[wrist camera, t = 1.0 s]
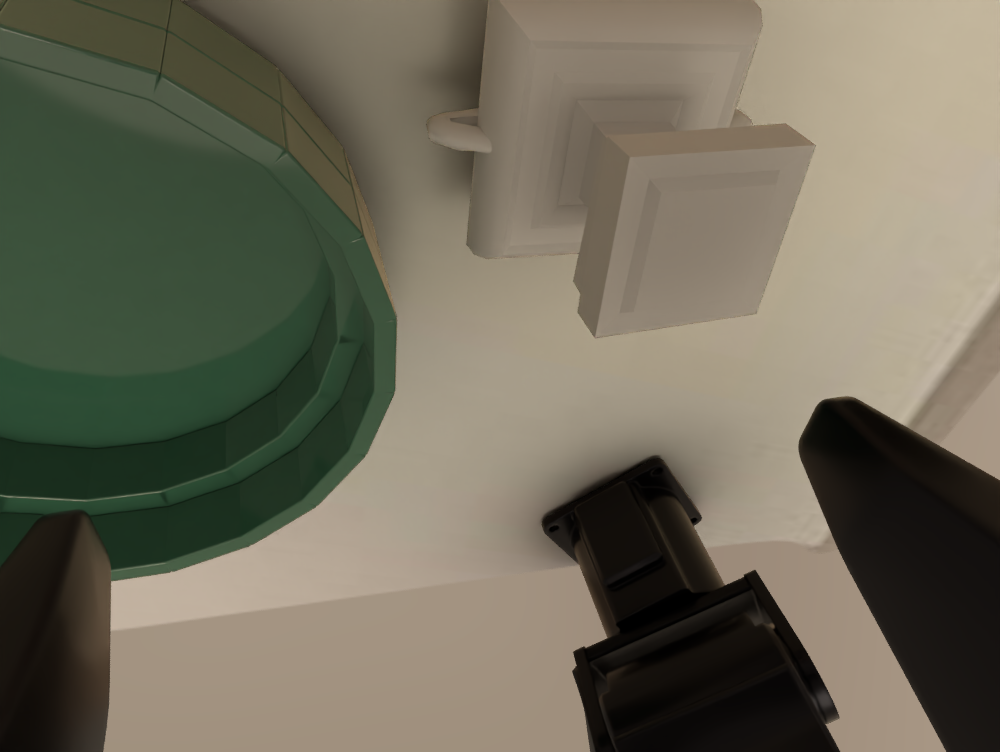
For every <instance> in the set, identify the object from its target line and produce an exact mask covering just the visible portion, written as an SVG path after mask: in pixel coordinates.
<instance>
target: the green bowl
mask: <svg viewBox="0 0 1000 752" xmlns="http://www.w3.org/2000/svg"><path fill="white" fill-rule="evenodd" d="M396 344H397V316H396V312H395V308H394V304H393V300H392V296H391V292H390V288H389V284H388V280H387V276H386V273H385V269H384V265H383V261H382V257H381V253H380V249H379V245H378V241H377V237H376V233H375V229H374V226H373V223H372V220H371V217H370V215H369V212H368V210H367V207H366V204H365V202H364V199H363V197H362V194H361V191H360V189H359V186H358V183H357V181H356V178H355V176H354V173H353V170H352V168H351V165H350V163H349V160H348V157H347V155H346V152H345V150H344V149H343V148H342V145H341V144H340V143H339V141H338V140H337V139H336V138H335V137H334V135H333V134H332V133H331V132H330V131H329V129H328V128H327V127H326V126H325V124H324V123H323V122H322V121H321V120H320V118H319V117H318V116H317V115H316V114H315V112H314V111H313V110H312V109H311V107H310V106H309V105H308V104H307V103H306V101H305V100H304V99H303V98H302V97H301V95H300V94H299V93H298V92H297V91H296V89H295V88H294V87H293V86H292V84H291V83H290V82H289V81H288V80H287V78H286V77H285V76H284V75H283V74H282V72H281V71H280V70H278V69H277V67H276V66H275V65H274V64H272V63H271V62H270V61H268V60H267V59H265V58H264V57H262V56H261V55H259V54H258V53H256V52H255V51H253V50H252V49H250V48H249V47H248V46H246V45H245V44H243V43H242V42H240V41H239V40H237V39H236V38H234V37H233V36H231V35H230V34H228V33H227V32H226V31H224V30H223V29H221V28H220V27H218V26H217V25H215V24H214V23H212V22H211V21H209V20H208V19H206V18H205V17H204V16H202V15H201V14H199V13H198V12H196V11H195V10H193V9H192V8H190V7H189V6H187V5H186V4H184V3H183V2H181V1H180V0H0V567H1V565H2V564H3V563H4V561H5V560H6V559H7V558H8V556H9V555H10V554H11V552H12V551H13V550H14V549H15V547H16V546H17V545H18V543H19V542H20V541H21V540H22V538H23V537H24V536H25V534H26V533H27V532H28V531H29V529H30V528H31V527H32V525H33V524H34V523H35V522H36V521H37V520H38V519H39V518H40V517H41V516H43V515H45V514H49V513H55V512H62V511H68V510H75V509H82V510H84V511H86V512H87V513H88V514H89V516H90V517H91V519H92V521H93V523H94V525H95V527H96V529H97V531H98V533H99V535H100V537H101V539H102V541H103V543H104V545H105V547H106V549H107V552H108V555H109V559H110V565H111V581H117V580H124V579H131V578H137V577H144V576H151V575H157V574H164V573H170V572H171V571H172V572H174V571H177V570H180V569H183V568H186V567H189V566H192V565H195V564H198V563H201V562H204V561H207V560H210V559H213V558H216V557H219V556H222V555H225V554H228V553H231V552H234V551H237V550H240V549H243V548H246V547H249V546H250V545H253V544H255V543H257V542H258V541H260V540H262V539H263V538H265V537H267V536H268V535H270V534H272V533H273V532H275V531H277V530H278V529H280V528H282V527H283V526H285V525H287V524H289V523H290V522H292V521H294V520H295V519H297V518H299V517H300V516H302V515H304V514H305V513H307V512H309V511H310V510H312V509H314V508H315V507H316V506H318V505H319V504H320V503H321V502H322V501H323V500H324V499H325V498H326V497H327V496H328V495H329V494H330V493H331V492H332V491H333V490H334V489H335V487H336V486H337V485H338V484H339V483H340V482H341V481H342V480H343V479H344V478H345V477H346V476H347V475H348V474H349V473H350V472H351V471H352V470H353V469H354V468H355V467H356V466H357V465H358V464H359V463H360V462H361V461H362V460H363V458H364V457H365V456H366V454H367V453H368V451H369V449H370V446H371V444H372V442H373V440H374V438H375V435H376V433H377V431H378V429H379V427H380V424H381V422H382V420H383V418H384V416H385V413H386V411H387V409H388V407H389V405H390V402H391V400H392V398H393V396H394V392H395V385H396Z"/></svg>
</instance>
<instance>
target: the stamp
mask: <svg viewBox="0 0 1000 752" xmlns="http://www.w3.org/2000/svg"><path fill="white" fill-rule="evenodd" d="M762 26H763V25H762V13H761V8H760V7H759V6H758V5H757V4H756V3H755V2H754V0H488V8H487V19H486V30H485V41H484V53H483V64H482V75H481V86H480V97H479V108H475V109H468V110H462V111H455V112H445V113H441V114H438V115H435V116H433V117H430V118H429V119H428V121H427V124H426V125H427V131H428V136H429V139H430V140H431V141H432V142H434V143H436V144H439V145H442V146H446V147H449V148H452V149H455V150H458V151H475V154H474V165H473V176H472V187H471V199H470V210H469V221H468V232H467V243H466V245H467V246H468V247H469V248H470V249H471V251H472V252H473V253H474V254H475V255H477V256H480V257H483V258H485V259H495V258H512V257H529V256H546V255H563V254H579V256H578V261H577V265H576V270H575V275H574V280H573V282H574V284H575V285H576V287H577V289H578V291H579V292H580V294H581V295H580V301H579V307H578V314H579V315H580V317H581V318H582V320H583V321H584V323H585V324H586V326H587V327H588V329H589V330H590V332H591V333H592V335H593V336H594V338H600V337H607V336H613V335H620V334H627V333H633V332H640V331H647V330H653V329H660V328H667V327H673V326H680V325H687V324H693V323H700V322H707V321H713V320H720V319H727V318H733V317H740V316H747V315H753V314H757V311H758V308H759V305H760V302H761V299H762V297H763V294H764V291H765V288H766V285H767V282H768V280H769V277H770V274H771V271H772V268H773V265H774V263H775V260H776V257H777V254H778V251H779V248H780V246H781V243H782V240H783V237H784V234H785V231H786V229H787V226H788V223H789V220H790V217H791V214H792V212H793V209H794V206H795V203H796V200H797V197H798V195H799V192H800V189H801V186H802V183H803V181H804V178H805V175H806V172H807V169H808V166H809V164H810V161H811V158H812V155H813V152H814V149H815V147H816V145H815V144H814V143H812V142H811V141H809V140H808V139H807V138H805V137H804V136H802V135H801V134H800V133H798V132H797V131H795V130H794V129H793V128H791V127H790V126H788V125H787V124H772V125H758V126H752V121H751V119H750V118H749V117H748V116H746V115H745V114H743V113H742V112H741V111H739V110H735V109H736V106H737V103H738V99H739V96H740V93H741V90H742V87H743V84H744V81H745V78H746V75H747V72H748V69H749V66H750V63H751V60H752V57H753V54H754V50H755V47H756V44H757V41H758V38H759V35H760V32H761V29H762Z"/></svg>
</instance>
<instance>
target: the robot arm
mask: <svg viewBox="0 0 1000 752" xmlns="http://www.w3.org/2000/svg"><path fill="white" fill-rule="evenodd" d="M799 455H800V458H801V461H802V463H803V466H804V468H805V471H806V473H807V475H808V478H809V480H810V483H811V485H812V487H813V490H814V492H815V495H816V497H817V500H818V502H819V504H820V507H821V509H822V512H823V514H824V516H825V519H826V521H827V524H828V526H829V528H830V531H831V533H832V536H833V538H834V540H835V543H836V545H837V547H838V549H839V552H840V554H841V556H842V558H843V560H844V562H845V564H846V566H847V568H848V570H849V572H850V574H851V575H852V577H853V579H854V581H855V583H856V584H857V587H858V588H859V590H860V592H861V594H862V596H863V597H864V599H865V601H866V603H867V605H868V607H869V609H870V611H871V613H872V614H873V616H874V618H875V620H876V621H877V624H878V625H879V627H880V629H881V631H882V633H883V635H884V637H885V638H886V640H887V642H888V644H889V646H890V648H891V650H892V652H893V653H894V655H895V657H896V659H897V661H898V662H899V664H900V666H901V668H902V670H903V671H904V674H905V676H906V677H907V679H908V681H909V683H910V685H911V687H912V689H913V690H914V692H915V694H916V696H917V698H918V700H919V702H920V703H921V705H922V707H923V709H924V711H925V713H926V714H927V716H928V718H929V720H930V722H931V724H932V725H933V727H934V729H935V731H936V733H937V735H938V737H939V739H940V740H941V742H942V744H943V746H944V748H945V750H946V752H1000V480H998V479H996V478H995V477H993V476H991V475H989V474H988V473H986V472H984V471H982V470H981V469H979V468H977V467H975V466H974V465H972V464H970V463H968V462H966V461H965V460H963V459H961V458H960V457H958V456H956V455H954V454H953V453H951V452H949V451H947V450H946V449H944V448H942V447H940V446H939V445H937V444H935V443H933V442H932V441H930V440H928V439H926V438H925V437H923V436H921V435H919V434H918V433H916V432H914V431H912V430H911V429H909V428H907V427H905V426H904V425H902V424H900V423H898V422H897V421H895V420H893V419H891V418H890V417H888V416H886V415H884V414H883V413H881V412H879V411H877V410H876V409H874V408H872V407H870V406H869V405H867V404H865V403H863V402H862V401H860V400H858V399H856V398H854V397H849V396H844V397H837V398H830V399H825V400H822V401H821V402H820V403H819V404H818V405H817V406H816V408H815V410H814V412H813V414H812V416H811V418H810V420H809V422H808V424H807V426H806V427H805V429H804V431H803V433H802V435H801V437H800V440H799ZM701 519H702V517H701V515H700V513H699V511H698V509H697V508H696V506H695V505H694V504H693V502H692V501H691V499H690V498H689V496H688V495H687V493H686V492H685V491H684V489H683V488H682V486H681V485H680V483H679V482H678V481H677V479H676V478H675V476H674V475H673V473H672V472H671V471H670V469H669V468H668V466H667V465H666V463H665V462H664V461H663V460H662V459H660V458H656V459H652V460H650V461H648V462H646V463H645V464H643V465H641V466H639V467H637V468H636V469H634V470H632V471H630V472H628V473H626V474H625V475H623V476H621V477H619V478H617V479H616V480H614V481H612V482H610V483H608V484H607V485H605V486H603V487H601V488H599V489H597V490H596V491H594V492H592V493H590V494H588V495H587V496H585V497H583V498H581V499H579V500H578V501H576V502H574V503H572V504H570V505H568V506H567V507H565V508H563V509H561V510H559V511H558V512H556V513H554V514H552V515H550V516H549V517H547V518H545V519H544V520H543V521H542V527H543V530H544V532H545V534H546V535H547V536H548V537H550V538H551V539H552V540H553V541H554V542H555V543H556V544H557V545H558V546H559V547H561V548H562V549H563V550H564V551H565V552H566V553H567V554H568V555H569V556H570V557H572V558H573V559H574V560H575V561H576V562H577V563H578V564H579V565H580V568H581V570H582V573H583V576H584V578H585V581H586V583H587V586H588V588H589V591H590V594H591V596H592V599H593V602H594V604H595V607H596V609H597V612H598V614H599V617H600V620H601V622H602V625H603V627H604V630H605V632H606V635H607V639H605V640H603V641H600V642H598V643H596V644H594V645H592V646H589V647H587V648H585V647H582V648H579V649H577V650H575V651H574V652H573V653H574V657H575V661H576V665H577V666H576V667H575V669H574V670H573V671H572V672H573V675H574V678H575V681H576V684H577V687H578V690H579V693H580V696H581V699H582V703H583V707H584V711H585V717H586V724H587V732H588V739H589V745H590V752H840V751H839V749H838V747H837V745H836V743H835V741H834V739H833V738H832V736H831V734H830V732H829V730H828V729H827V726H826V725H825V724H828V723H831V722H833V721H835V720H837V719H839V714H838V712H837V709H836V707H835V705H834V703H833V700H832V698H831V696H830V694H829V692H828V690H827V688H826V686H825V684H824V682H823V680H822V679H821V677H820V675H819V673H818V671H817V669H816V667H815V666H814V664H813V662H812V660H811V659H810V657H809V656H808V653H807V652H806V650H805V648H804V647H803V645H802V644H801V642H800V640H799V639H798V637H797V635H796V634H795V632H794V631H793V629H792V627H791V626H790V624H789V623H788V621H787V619H786V618H785V616H784V615H783V613H782V612H781V610H780V608H779V607H778V605H777V604H776V602H775V600H774V599H773V597H772V596H771V594H770V592H769V591H768V589H767V588H766V586H765V585H764V583H763V581H762V580H761V578H760V577H759V575H758V573H757V572H756V570H753V571H751V572H749V573H747V574H744V577H743V578H741V579H738V580H736V581H734V582H732V583H730V584H727V585H724V583H723V581H722V579H721V577H720V575H719V573H718V571H717V569H716V568H715V566H714V564H713V562H712V560H711V558H710V557H709V555H708V553H707V551H706V549H705V547H704V545H703V543H702V541H701V540H700V538H699V536H698V534H697V532H696V530H695V528H694V525H696V524H697V523H699V522H700V521H701ZM110 617H111V565H110V559H109V555H108V552H107V549H106V547H105V545H104V543H103V541H102V539H101V537H100V535H99V533H98V531H97V529H96V527H95V525H94V523H93V521H92V519H91V517H90V516H89V514H88V513H87V512H86V511H84V510H82V509H75V510H68V511H62V512H55V513H49V514H45V515H43V516H41V517H40V518H39V519H38V520H37V521H36V522H35V523H34V524H33V525H32V527H31V528H30V529H29V531H28V532H27V533H26V534H25V536H24V537H23V538H22V540H21V541H20V542H19V543H18V545H17V546H16V547H15V549H14V550H13V551H12V552H11V554H10V555H9V556H8V558H7V559H6V560H5V561H4V563H3V564H2V565H1V567H0V752H103V749H104V742H105V735H106V728H107V718H108V709H109V688H110Z"/></svg>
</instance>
